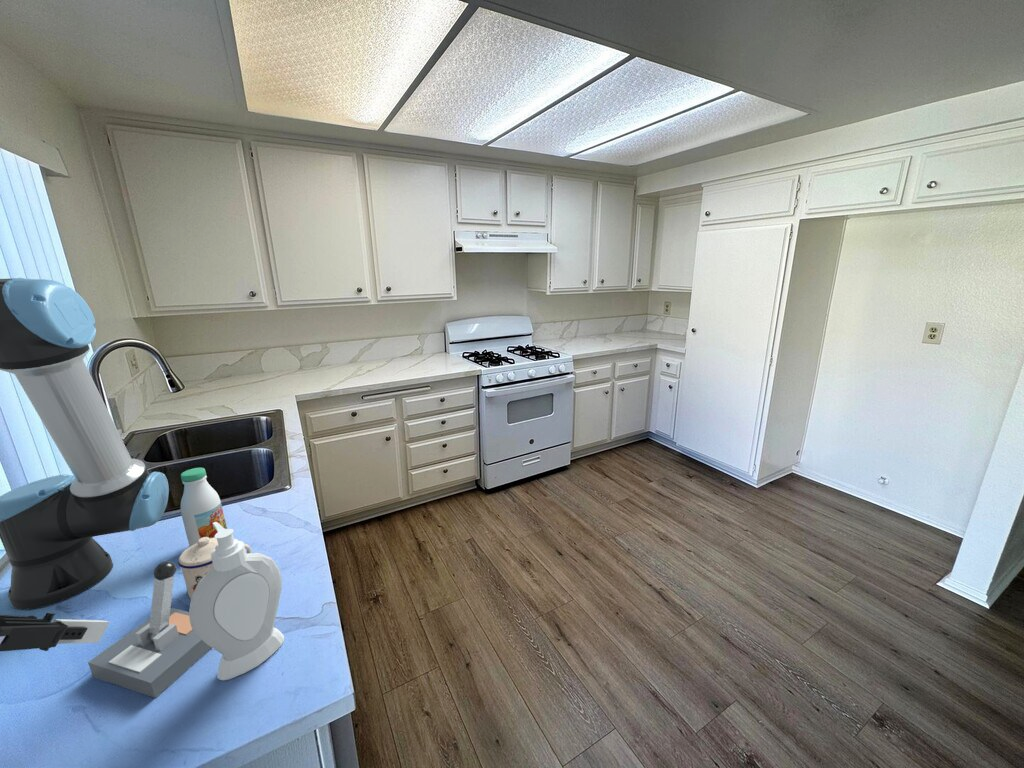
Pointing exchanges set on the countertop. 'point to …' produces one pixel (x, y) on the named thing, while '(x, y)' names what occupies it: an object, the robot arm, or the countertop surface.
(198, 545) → the teacup with lid
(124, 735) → the countertop surface
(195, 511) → the milk bottle
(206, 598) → the soap bottle
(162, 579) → the lever
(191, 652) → the switch base
